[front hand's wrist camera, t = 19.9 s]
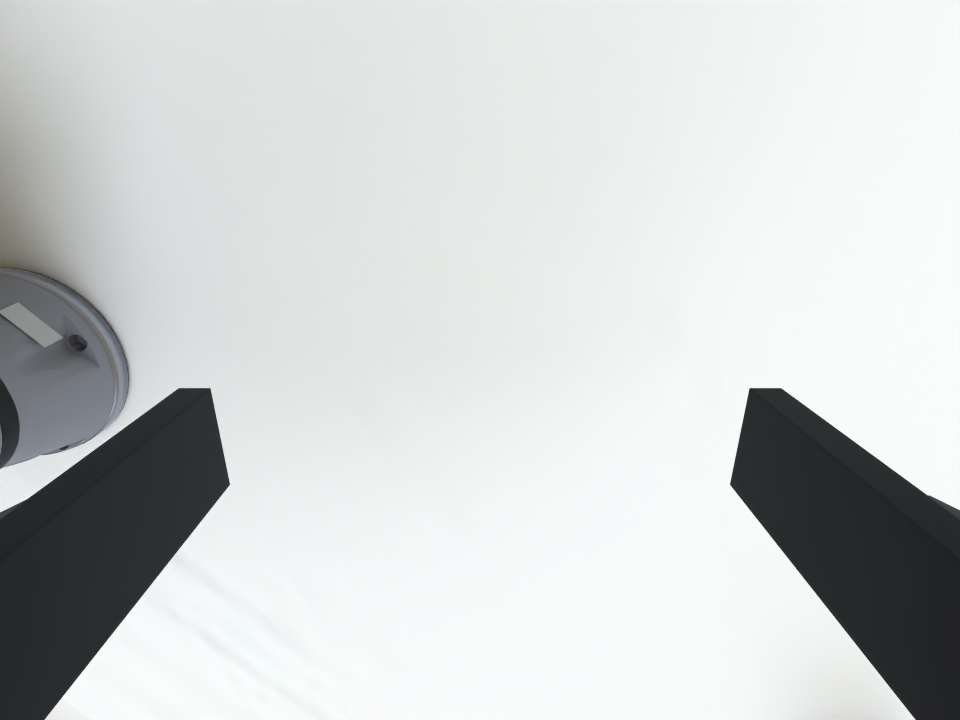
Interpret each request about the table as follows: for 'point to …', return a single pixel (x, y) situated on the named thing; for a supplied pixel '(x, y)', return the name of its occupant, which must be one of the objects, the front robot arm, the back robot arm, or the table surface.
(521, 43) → the table surface
